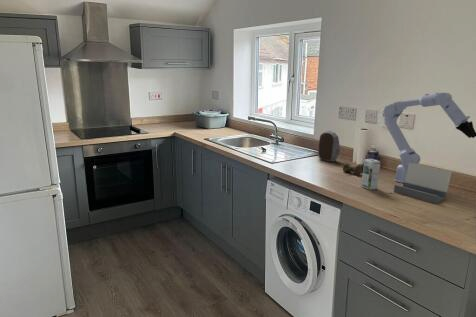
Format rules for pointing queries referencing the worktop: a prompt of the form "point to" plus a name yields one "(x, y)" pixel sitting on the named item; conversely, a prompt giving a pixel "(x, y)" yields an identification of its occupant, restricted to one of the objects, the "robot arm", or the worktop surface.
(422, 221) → the worktop surface
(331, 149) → the grey rounded bag
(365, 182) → the syrup box
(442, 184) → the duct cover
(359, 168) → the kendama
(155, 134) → the worktop surface
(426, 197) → the cable duct
